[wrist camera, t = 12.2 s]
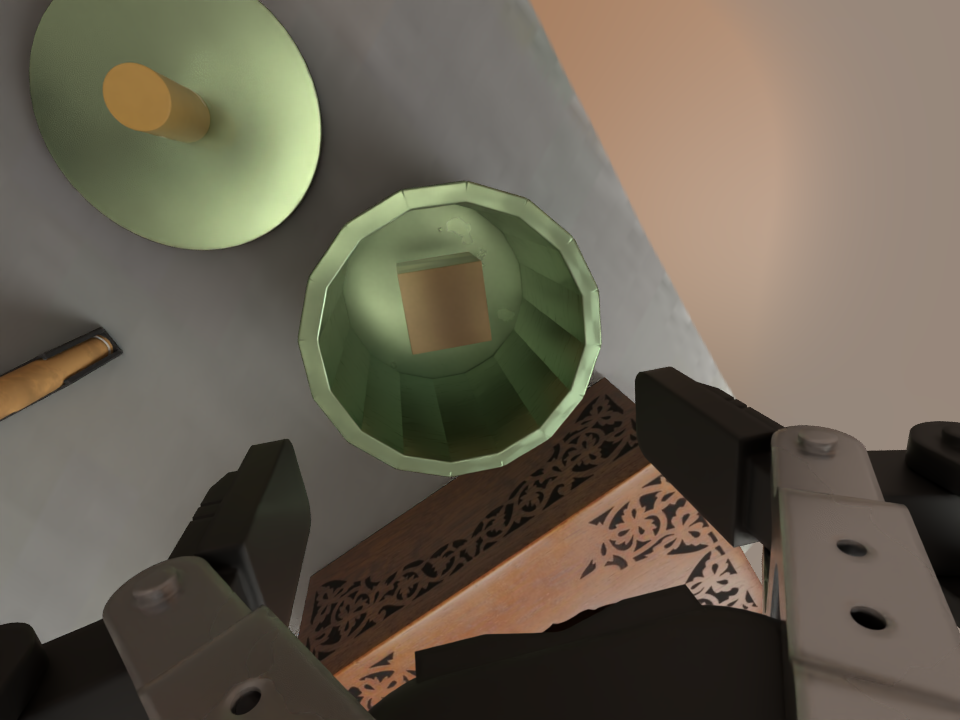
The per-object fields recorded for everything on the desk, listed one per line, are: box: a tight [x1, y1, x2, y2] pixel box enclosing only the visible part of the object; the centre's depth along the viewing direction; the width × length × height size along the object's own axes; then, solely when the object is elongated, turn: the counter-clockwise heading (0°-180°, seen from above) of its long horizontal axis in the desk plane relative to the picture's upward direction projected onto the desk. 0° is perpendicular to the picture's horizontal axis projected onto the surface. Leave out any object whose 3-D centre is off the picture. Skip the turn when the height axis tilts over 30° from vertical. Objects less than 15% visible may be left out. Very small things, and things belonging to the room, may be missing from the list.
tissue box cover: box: [298, 378, 763, 711], centre depth 34 cm, size 26×14×10 cm, turn 123°
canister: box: [298, 181, 602, 477], centre depth 26 cm, size 13×13×12 cm
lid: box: [29, 0, 322, 250], centre depth 24 cm, size 14×14×6 cm
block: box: [396, 252, 492, 355], centre depth 29 cm, size 4×4×4 cm
